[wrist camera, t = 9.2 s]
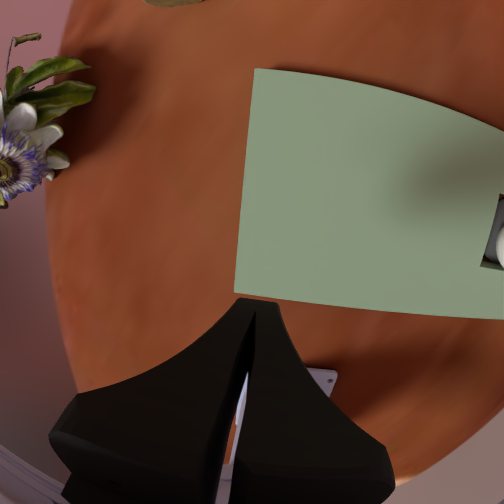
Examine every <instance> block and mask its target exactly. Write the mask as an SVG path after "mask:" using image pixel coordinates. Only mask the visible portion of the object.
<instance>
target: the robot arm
mask: <svg viewBox="0 0 504 504" xmlns="http://www.w3.org/2000/svg"><path fill="white" fill-rule="evenodd" d="M337 376H338V375H337V372H336V371H335V370H326V369H315V368H306V366H305V365H304V363H303V362H302V360H301V358H300V356H299V355H298V353H297V351H296V349H295V347H294V345H293V343H292V341H291V339H290V337H289V334H288V332H287V330H286V327H285V325H284V322H283V319H282V316H281V313H280V308H279V305H278V304H277V303H276V302H269V301H261V300H254V299H248V298H241V297H240V298H239V299H237V300H236V301H235V303H234V304H233V305H232V306H231V308H230V309H229V310H228V311H227V312H226V313H225V314H224V315H223V316H222V317H221V318H220V319H219V320H218V321H217V322H216V323H215V324H214V325H213V326H212V327H211V328H210V329H209V330H208V331H207V332H206V333H204V334H203V335H202V336H201V337H200V338H198V339H197V340H196V341H195V342H193V343H192V344H191V345H189V346H188V347H187V348H185V349H184V350H183V351H181V352H180V353H178V354H177V355H175V356H173V357H172V358H170V359H169V360H167V361H165V362H163V363H161V364H160V365H158V366H156V367H154V368H152V369H150V370H148V371H146V372H144V373H142V374H140V375H137V376H135V377H132V378H130V379H127V380H124V381H122V382H119V383H116V384H113V385H110V386H107V387H103V388H99V389H95V390H92V391H88V392H84V393H79V394H77V395H76V396H75V397H74V398H73V400H72V401H71V402H70V403H69V404H68V406H67V407H66V408H65V410H64V411H63V413H62V414H61V416H60V417H59V419H58V420H57V422H56V423H55V425H54V427H53V428H52V430H51V431H50V433H49V434H48V436H49V442H50V445H51V446H52V448H53V449H54V451H55V452H56V454H57V455H58V456H59V458H60V459H61V460H62V462H63V463H64V464H65V465H66V466H67V468H68V469H69V470H70V472H71V473H72V474H71V475H70V477H69V479H68V481H67V483H66V485H63V484H61V483H60V482H58V481H56V480H54V479H52V478H51V477H49V476H47V475H45V474H44V473H42V472H40V471H39V470H37V469H35V468H34V467H32V466H31V465H29V464H28V463H26V462H25V461H23V460H22V459H20V458H19V457H17V456H16V455H14V454H12V453H11V452H10V451H8V450H7V449H6V448H4V447H3V446H2V445H0V504H381V503H382V502H384V501H385V500H386V499H387V498H388V497H389V496H390V495H391V494H392V492H393V491H394V489H395V485H396V484H395V478H394V472H393V468H392V465H391V461H390V458H389V455H388V453H387V450H386V447H385V446H384V445H383V444H381V443H380V442H378V441H377V440H376V439H374V438H373V437H372V436H370V435H369V434H368V433H366V432H365V431H364V430H362V429H361V428H360V427H358V426H357V425H356V424H355V423H354V422H353V421H352V420H351V419H349V418H348V417H347V416H346V415H345V414H344V413H343V412H342V411H341V410H340V409H339V408H338V407H337V406H336V405H335V404H334V403H333V401H332V400H331V399H330V398H329V397H330V394H331V392H332V389H333V387H334V384H335V382H336V379H337ZM329 379H331V380H329ZM237 405H238V406H237ZM236 409H237V415H236V425H237V428H236V433H235V438H234V443H233V448H232V453H231V458H230V463H229V465H223V462H224V457H225V452H226V447H227V442H228V437H229V432H230V429H231V425H232V421H233V418H234V415H235V412H236ZM498 504H504V500H502V501H501V502H499V503H498Z"/></svg>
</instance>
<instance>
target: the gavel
mask: <svg viewBox="0 0 504 504" xmlns="http://www.w3.org/2000/svg"><path fill="white" fill-rule="evenodd" d="M142 1H144V2H146V3H149V4H151V5H155V6H163V7H174V6H180V5H185V4H192V3H198V2H200V1H202V0H142Z"/></svg>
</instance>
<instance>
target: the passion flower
mask: <svg viewBox="0 0 504 504" xmlns="http://www.w3.org/2000/svg"><path fill="white" fill-rule="evenodd" d="M40 39H41V34H40V33H34V34H29V35H24V36H22V37H13V38H12V39H11V43H10V46H9V50H8V56H7V62H6V75H5V95H4V98H3V95H2V90H1V88H0V209H7V208H8V203H7V201H5V200H4V198H7V199H8V200H12V199H14V198H15V197H16V196H17V194H18V193H22V192H25V191H26V190H27V191H28V192H32V190H33V189H34V187H35V186H37V184H39V185H41V183H42V182H41V181H42V178H43V177H46V178H48V179H49V180H53V178H54V170H53V169H63V168H67V167H69V166H70V161H69V158H68V156H67V154H66V153H65V152H63V151H61V150H59V149H56V148H54V147H50V145H51V144H54V143H55V142H56V141H57V140H58V139H60V138H61V137H62V136H63V134H64V133H63V130H62V128H61V127H60V126H59V125H58V124H57V123H56V122H53V121H52V120H53V119H55V118H58V117H60V116H62V115H63V114H65V113H66V112H67V111H68V110H69V109H70V108H72V107H76V106H80V105H83V104H86V103H88V102H90V101H92V97H93V94H94V92H95V91H96V89H97V87H96V86H92V85H89V84H87V83H84V82H81V81H73V80H71V81H68V80H66V81H64V82H62V83H59V84H55V85H50V86H47V87H45V88H44V89H43V90H39V91H34V90H32V89H34V88H35V87H32V88H30V89H29V88H28V87H30V86H32V85H34V84H37V83H39V82H41V81H43V80H46V79H47V78H49V77H52V76H55V75H58V74H62V73H70V72H73V71H76V70H81V69H86V68H89V69H90V68H92V67H91V66H87V65H85V64H84V63H83V62H82V61H80V60H78V59H76V58H75V57H70V56H62V57H54V58H49V59H43V60H39V61H38V62H36V63H35V64H34V65H33V66H31V67H30V68H29V69H28V70H27V71H26V72H25V73H23V71H24V70H23V68H22V67H21V66H17V67H15V68H13V69H12V70H11V71H10V72H9V73H8V74H7V70H8V64H9V56H10V51H11V45H12V41H14V47H16V46H17V45H18V44H21V43H23V42H26V41H29V40H30V41H33V40H40Z"/></svg>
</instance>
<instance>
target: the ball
mask: <svg viewBox="0 0 504 504" xmlns="http://www.w3.org/2000/svg"><path fill="white" fill-rule="evenodd" d="M496 253H497V257H498V260H499V262H500V264H501V265H502V267H503V268H504V226H503V227H502V229H501V230H500V232H499V234H498V236H497V241H496Z"/></svg>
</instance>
